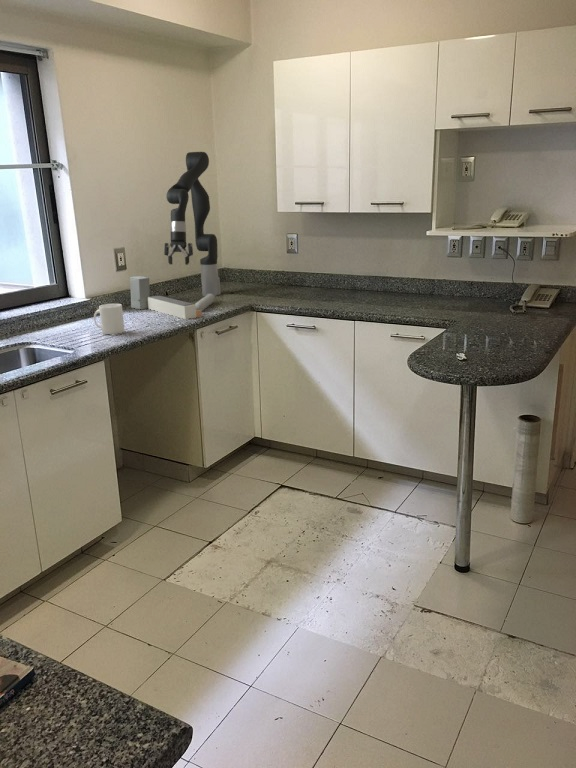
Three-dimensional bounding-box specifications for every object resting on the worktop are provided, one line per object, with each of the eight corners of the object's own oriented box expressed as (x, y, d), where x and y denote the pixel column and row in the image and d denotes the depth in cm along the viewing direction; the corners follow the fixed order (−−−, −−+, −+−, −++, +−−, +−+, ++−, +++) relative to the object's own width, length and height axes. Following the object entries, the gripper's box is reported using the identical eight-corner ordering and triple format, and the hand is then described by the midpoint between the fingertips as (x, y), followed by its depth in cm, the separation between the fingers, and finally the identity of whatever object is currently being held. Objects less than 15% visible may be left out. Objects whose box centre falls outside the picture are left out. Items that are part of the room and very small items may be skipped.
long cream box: (164, 306, 333) (163, 294, 331) (201, 316, 307) (201, 303, 305) (148, 309, 328) (147, 296, 326) (185, 319, 301) (184, 305, 300)
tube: (204, 305, 315) (216, 295, 338) (193, 301, 315) (206, 292, 338) (201, 315, 316) (214, 305, 340) (191, 311, 317) (204, 301, 340)
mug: (125, 333, 277) (122, 306, 273) (96, 336, 274) (92, 309, 270) (123, 329, 286) (121, 302, 282) (95, 331, 282) (92, 305, 279)
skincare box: (131, 308, 332) (127, 277, 327) (142, 306, 337) (139, 275, 332) (140, 310, 326) (137, 278, 322) (152, 307, 331) (149, 276, 326)
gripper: (194, 231, 322) (195, 264, 325) (168, 231, 326) (168, 264, 329) (188, 230, 315) (189, 264, 318) (161, 230, 319) (162, 264, 322)
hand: (178, 264), depth 324 cm, fingers open, 8 cm apart
